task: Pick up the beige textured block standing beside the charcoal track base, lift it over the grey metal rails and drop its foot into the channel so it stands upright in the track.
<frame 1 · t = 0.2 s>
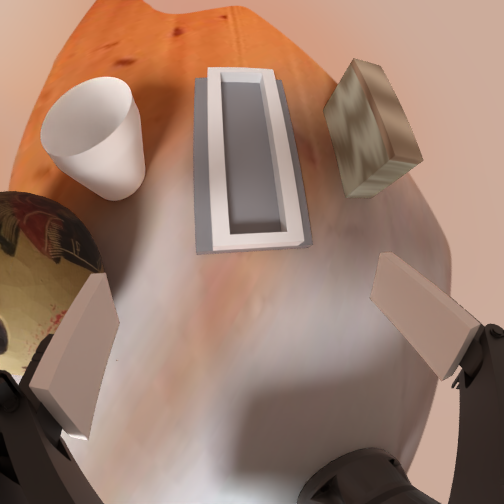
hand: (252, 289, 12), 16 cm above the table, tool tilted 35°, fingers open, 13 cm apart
cup: (119, 175, 29), on the table
track base: (244, 152, 31), on the table
ceramic jug: (70, 298, 25), on the table
beige textured block: (346, 150, 34), on the table
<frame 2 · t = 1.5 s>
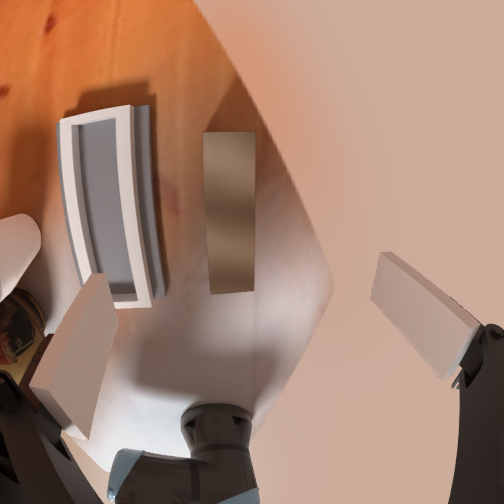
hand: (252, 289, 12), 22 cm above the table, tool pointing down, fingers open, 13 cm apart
cup: (25, 235, 29), on the table
track base: (109, 210, 30), on the table
ceramic jug: (27, 315, 33), on the table
beige textured block: (221, 192, 32), on the table
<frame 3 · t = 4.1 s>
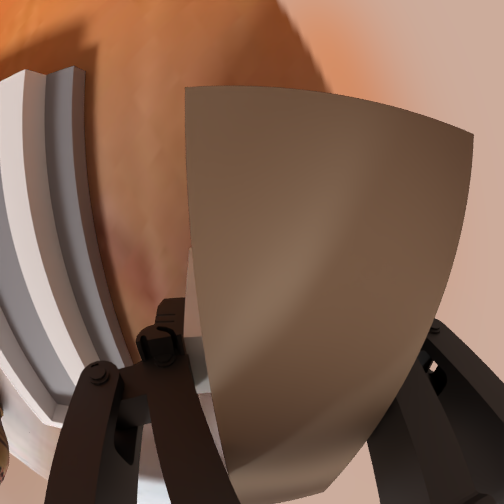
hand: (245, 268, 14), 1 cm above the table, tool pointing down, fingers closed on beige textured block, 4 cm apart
track base: (32, 286, 13), on the table
beige textured block: (241, 258, 15), on the table, touching gripper
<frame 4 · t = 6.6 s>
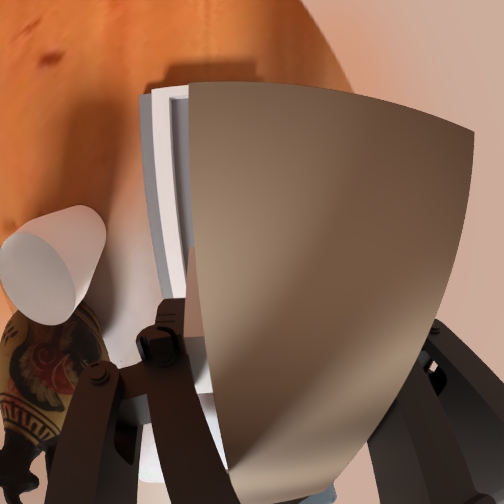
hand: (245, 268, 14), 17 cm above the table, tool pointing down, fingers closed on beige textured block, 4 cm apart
cup: (82, 231, 28), on the table
track base: (204, 200, 29), on the table
ceramic jug: (76, 327, 32), on the table
beige textured block: (242, 257, 15), point 15 cm above the table, touching gripper
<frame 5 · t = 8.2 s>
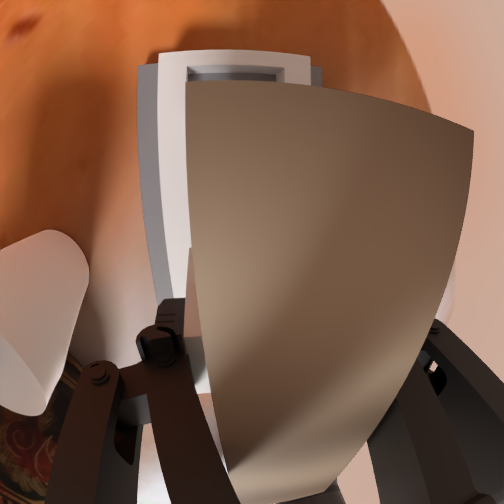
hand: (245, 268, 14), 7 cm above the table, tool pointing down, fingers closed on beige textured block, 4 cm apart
cup: (58, 265, 19), on the table
track base: (231, 229, 20), on the table
ceramic jug: (60, 375, 23), on the table
beige textured block: (242, 257, 15), point 5 cm above the table, touching gripper
when the fingers open (5 cm above the table, at t = 9.4 s): beige textured block drops 2 cm, resting on track base.
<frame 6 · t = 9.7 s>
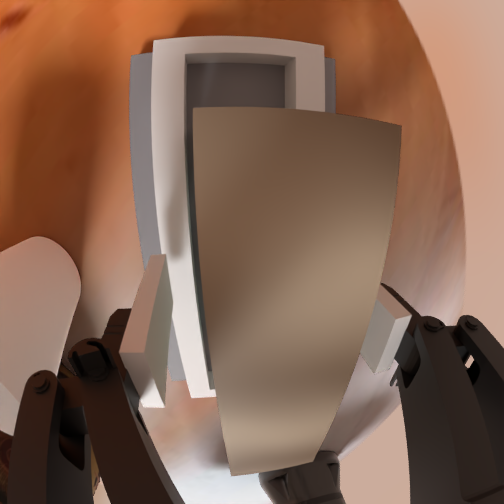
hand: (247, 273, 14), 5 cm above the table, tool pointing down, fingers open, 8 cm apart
cup: (48, 274, 17), on the table
track base: (234, 236, 18), on the table
ceramic jug: (56, 385, 22), on the table
beige textured block: (237, 245, 17), point 1 cm above the table, touching track base
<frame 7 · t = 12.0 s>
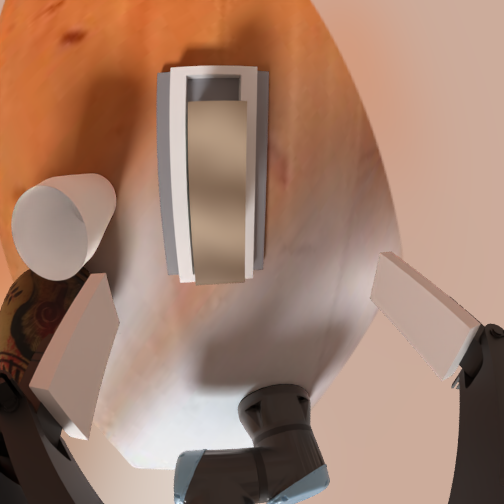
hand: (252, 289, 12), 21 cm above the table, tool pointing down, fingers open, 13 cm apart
cup: (93, 199, 29), on the table
track base: (212, 173, 30), on the table
ceramic jug: (78, 296, 34), on the table
beige textured block: (212, 175, 29), point 1 cm above the table, touching track base
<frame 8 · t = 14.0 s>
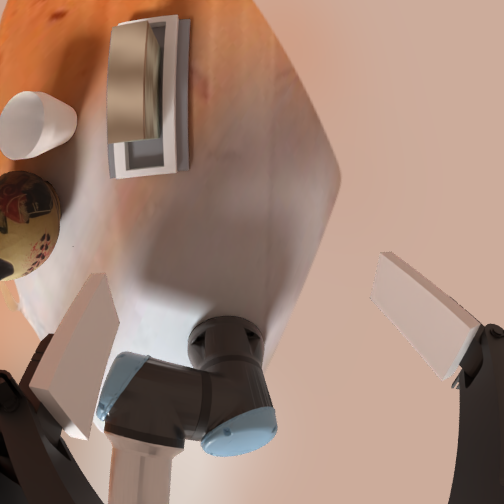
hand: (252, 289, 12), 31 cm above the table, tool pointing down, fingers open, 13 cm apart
cup: (61, 124, 31), on the table
track base: (147, 94, 33), on the table
ceramic jug: (42, 212, 36), on the table
beige textured block: (145, 93, 31), point 1 cm above the table, touching track base
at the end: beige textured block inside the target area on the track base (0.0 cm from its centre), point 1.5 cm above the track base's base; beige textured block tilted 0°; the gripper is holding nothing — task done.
